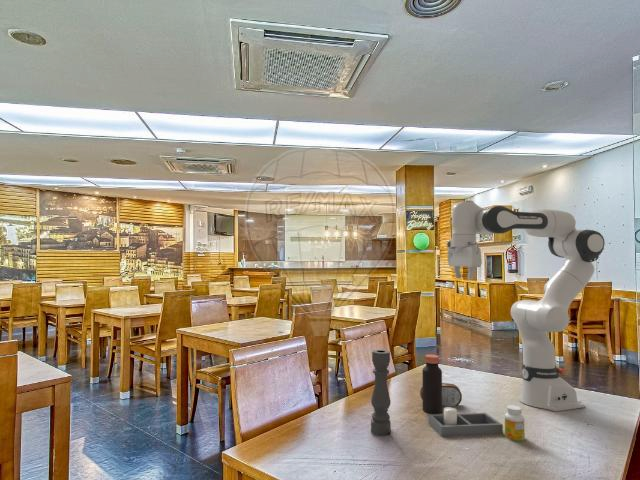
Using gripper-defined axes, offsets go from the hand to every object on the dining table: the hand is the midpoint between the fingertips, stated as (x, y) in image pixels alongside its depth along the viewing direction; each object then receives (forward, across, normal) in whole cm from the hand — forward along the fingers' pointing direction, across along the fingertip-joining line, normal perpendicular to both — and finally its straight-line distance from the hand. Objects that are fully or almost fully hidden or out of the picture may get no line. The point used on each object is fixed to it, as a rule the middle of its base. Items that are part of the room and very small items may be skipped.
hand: (464, 278), depth 155 cm
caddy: (+48, -22, +11) cm, 53 cm away
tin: (+48, 0, +9) cm, 49 cm away
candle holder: (+48, -20, +38) cm, 64 cm away
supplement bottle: (+48, -30, -1) cm, 56 cm away
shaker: (+47, -22, +16) cm, 54 cm away
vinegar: (+48, -6, +15) cm, 50 cm away
